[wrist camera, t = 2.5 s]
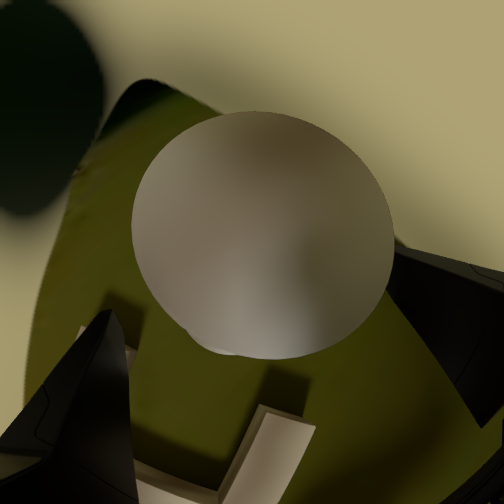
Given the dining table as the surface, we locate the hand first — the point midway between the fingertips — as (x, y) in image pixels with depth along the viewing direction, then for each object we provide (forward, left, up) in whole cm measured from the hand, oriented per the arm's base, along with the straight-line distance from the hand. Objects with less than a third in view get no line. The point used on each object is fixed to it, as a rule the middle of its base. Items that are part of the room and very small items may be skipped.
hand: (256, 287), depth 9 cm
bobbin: (+1, -1, -9) cm, 9 cm away
